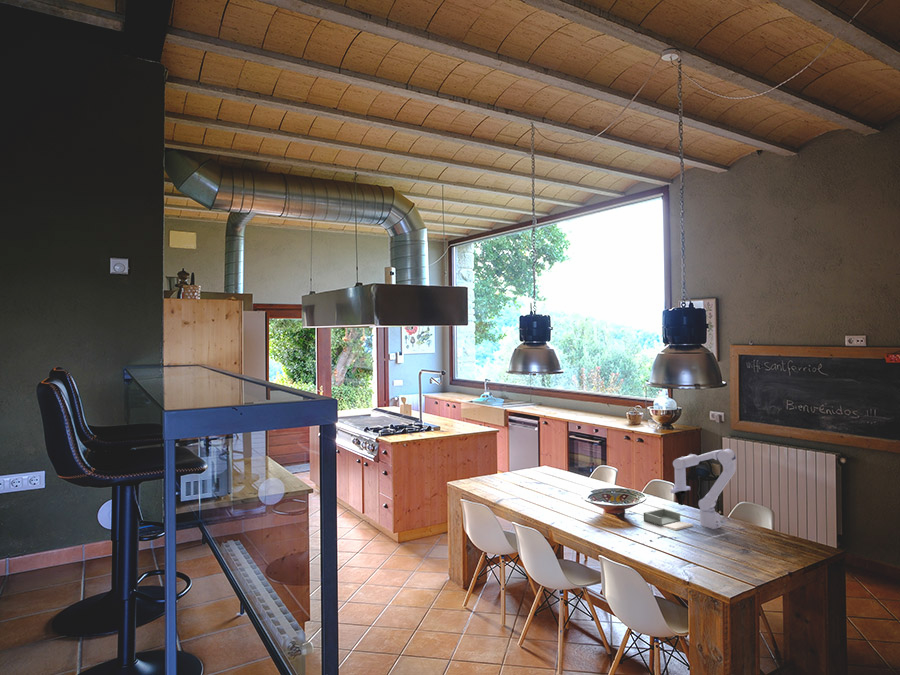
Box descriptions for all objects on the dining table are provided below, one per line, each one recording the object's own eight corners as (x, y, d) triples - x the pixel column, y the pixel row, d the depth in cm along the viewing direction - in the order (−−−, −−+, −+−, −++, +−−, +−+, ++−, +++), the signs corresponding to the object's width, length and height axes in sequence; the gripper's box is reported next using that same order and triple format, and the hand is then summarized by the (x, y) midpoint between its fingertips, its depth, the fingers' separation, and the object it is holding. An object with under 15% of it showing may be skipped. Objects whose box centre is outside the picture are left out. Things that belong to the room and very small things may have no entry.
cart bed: (680, 522, 297) (680, 513, 298) (660, 527, 290) (660, 518, 290) (663, 517, 307) (663, 508, 307) (643, 521, 299) (643, 512, 300)
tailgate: (693, 525, 289) (693, 524, 289) (675, 530, 282) (675, 528, 283) (679, 522, 297) (679, 521, 297) (662, 527, 290) (662, 525, 290)
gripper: (682, 476, 308) (683, 501, 307) (665, 480, 301) (666, 504, 300) (693, 479, 302) (694, 503, 301) (676, 482, 294) (677, 507, 294)
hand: (680, 504), depth 300 cm, fingers closed
